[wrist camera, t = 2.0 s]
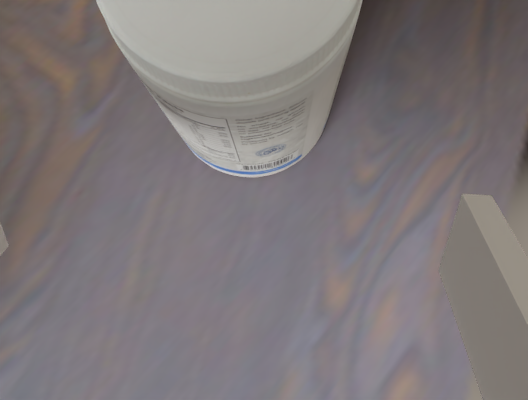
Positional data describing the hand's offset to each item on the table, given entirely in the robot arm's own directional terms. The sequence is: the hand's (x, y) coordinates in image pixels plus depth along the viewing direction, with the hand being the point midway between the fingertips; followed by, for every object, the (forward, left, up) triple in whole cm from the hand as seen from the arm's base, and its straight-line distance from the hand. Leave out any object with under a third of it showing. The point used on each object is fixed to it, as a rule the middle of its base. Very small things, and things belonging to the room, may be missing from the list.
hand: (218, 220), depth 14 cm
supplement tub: (-4, +8, -15) cm, 18 cm away
